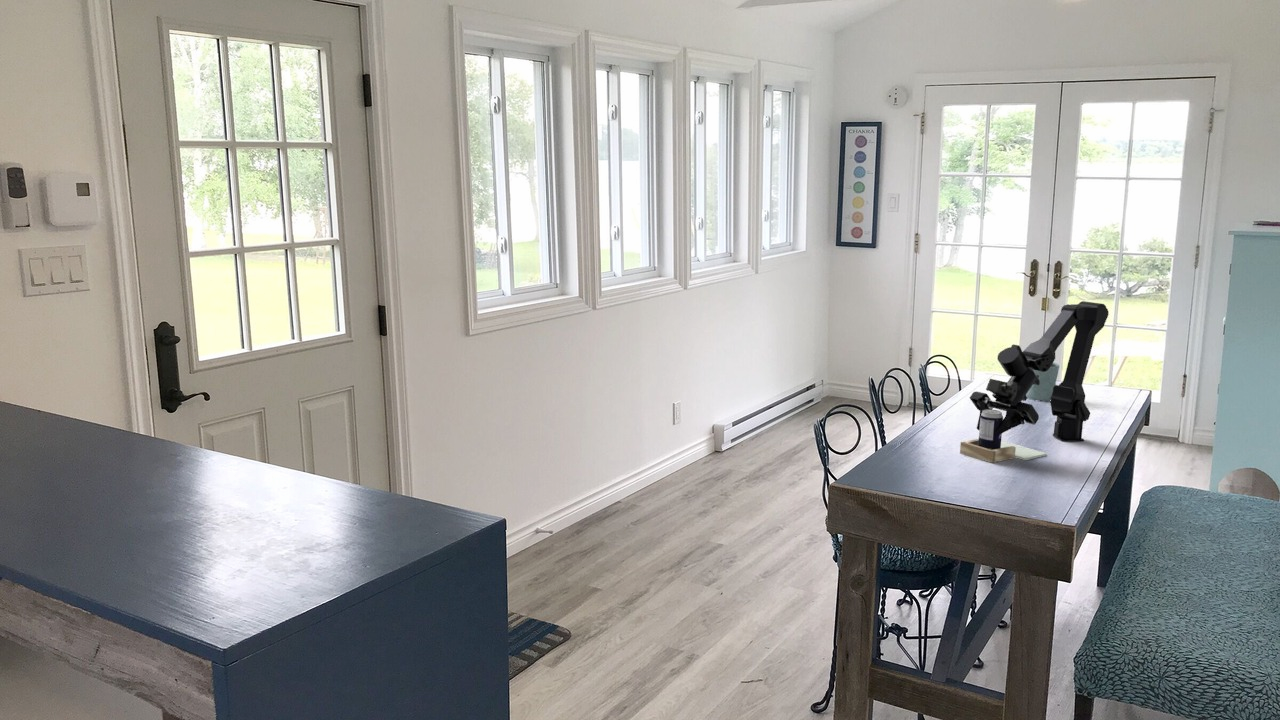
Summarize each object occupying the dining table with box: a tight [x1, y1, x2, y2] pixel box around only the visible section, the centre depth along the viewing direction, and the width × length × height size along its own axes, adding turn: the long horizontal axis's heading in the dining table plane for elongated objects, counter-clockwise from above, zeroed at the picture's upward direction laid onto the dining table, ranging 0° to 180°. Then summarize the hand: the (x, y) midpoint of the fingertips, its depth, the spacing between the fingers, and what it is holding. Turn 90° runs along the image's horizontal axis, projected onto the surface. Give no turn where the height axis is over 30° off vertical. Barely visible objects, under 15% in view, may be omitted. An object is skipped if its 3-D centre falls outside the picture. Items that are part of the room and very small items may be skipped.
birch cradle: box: [959, 438, 1016, 463], centre depth 261 cm, size 9×10×3 cm
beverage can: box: [978, 409, 1004, 450], centre depth 261 cm, size 6×6×12 cm
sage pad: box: [1001, 440, 1048, 461], centre depth 267 cm, size 9×16×1 cm, turn 32°
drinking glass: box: [1026, 362, 1060, 402], centre depth 329 cm, size 10×10×12 cm
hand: (987, 431), depth 260 cm, fingers closed on beverage can, 6 cm apart
